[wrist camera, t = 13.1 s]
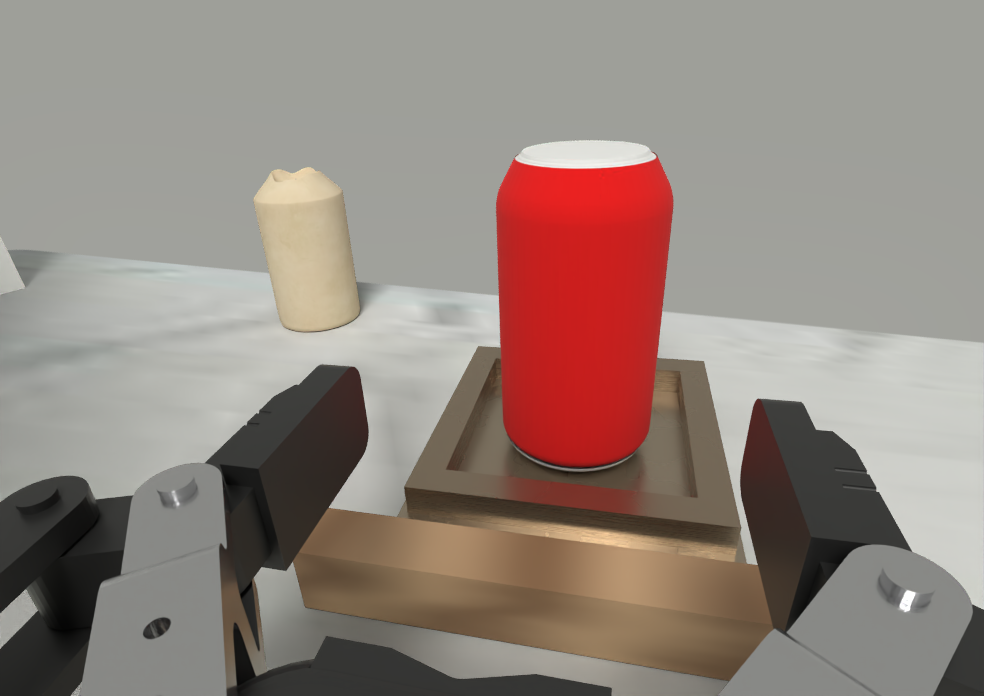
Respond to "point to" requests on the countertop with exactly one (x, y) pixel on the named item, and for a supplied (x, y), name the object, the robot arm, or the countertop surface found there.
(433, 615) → the sill
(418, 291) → the countertop surface
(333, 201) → the candle
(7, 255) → the milk
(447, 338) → the countertop surface
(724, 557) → the tray
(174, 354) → the countertop surface
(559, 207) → the beverage can
